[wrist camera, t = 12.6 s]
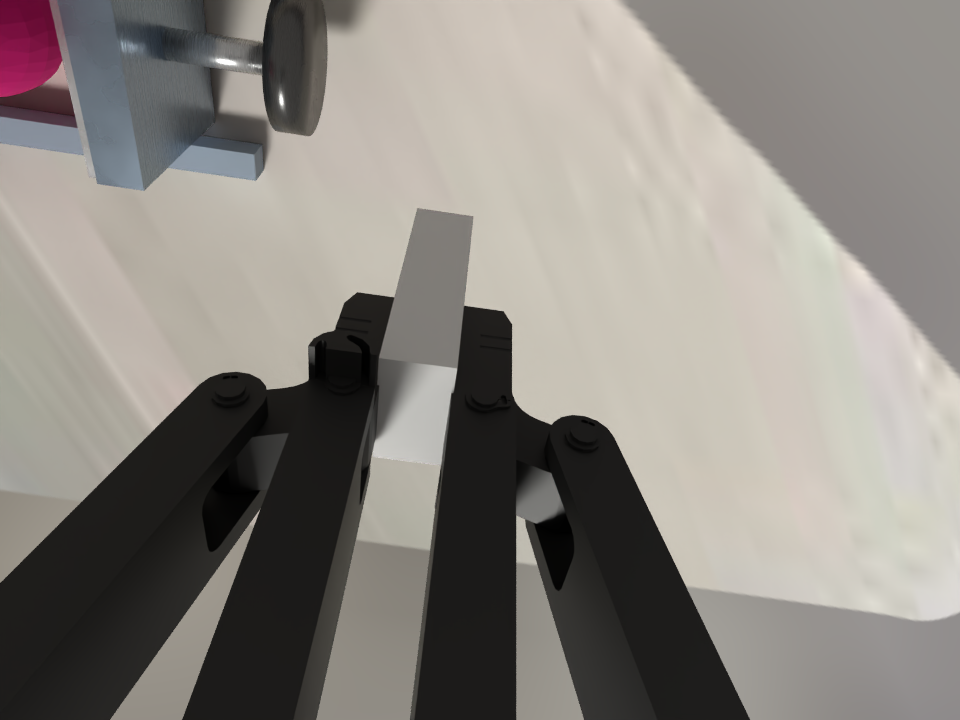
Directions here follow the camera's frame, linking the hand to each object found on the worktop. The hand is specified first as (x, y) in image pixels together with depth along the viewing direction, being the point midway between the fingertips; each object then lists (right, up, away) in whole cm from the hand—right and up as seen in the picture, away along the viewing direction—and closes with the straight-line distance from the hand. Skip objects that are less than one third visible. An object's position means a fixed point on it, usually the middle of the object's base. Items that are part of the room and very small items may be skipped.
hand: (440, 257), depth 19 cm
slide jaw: (-11, +14, +15) cm, 23 cm away
